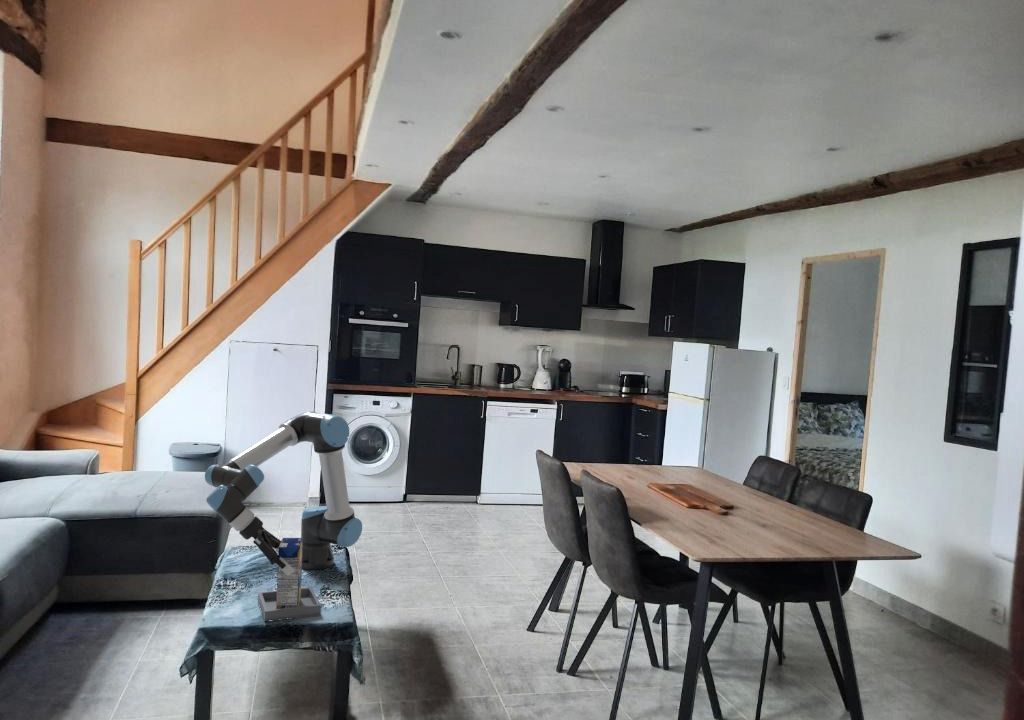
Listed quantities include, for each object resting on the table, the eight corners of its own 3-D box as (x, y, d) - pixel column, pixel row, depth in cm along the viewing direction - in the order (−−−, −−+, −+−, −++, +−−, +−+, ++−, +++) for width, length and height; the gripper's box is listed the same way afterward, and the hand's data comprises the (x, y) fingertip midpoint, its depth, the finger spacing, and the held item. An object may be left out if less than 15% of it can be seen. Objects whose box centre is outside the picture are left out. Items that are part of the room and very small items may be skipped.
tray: (310, 596, 261) (311, 587, 261) (320, 615, 245) (321, 605, 245) (258, 602, 254) (258, 592, 253) (264, 622, 237) (265, 611, 237)
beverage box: (276, 612, 243) (278, 547, 242) (280, 600, 254) (282, 537, 253) (297, 611, 245) (300, 547, 244) (300, 599, 255) (303, 537, 254)
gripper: (241, 521, 255) (284, 562, 260) (234, 542, 231) (282, 587, 236) (257, 506, 256) (300, 547, 261) (253, 526, 233) (299, 570, 237)
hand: (291, 566), depth 249 cm, fingers open, 13 cm apart
